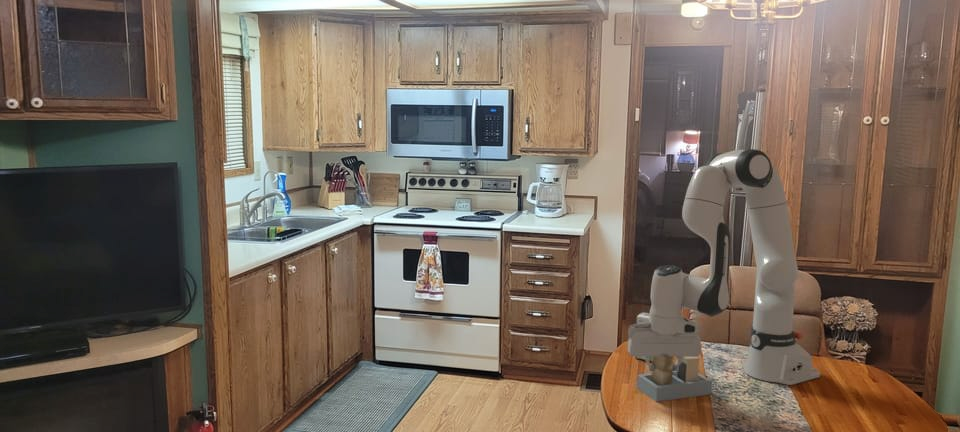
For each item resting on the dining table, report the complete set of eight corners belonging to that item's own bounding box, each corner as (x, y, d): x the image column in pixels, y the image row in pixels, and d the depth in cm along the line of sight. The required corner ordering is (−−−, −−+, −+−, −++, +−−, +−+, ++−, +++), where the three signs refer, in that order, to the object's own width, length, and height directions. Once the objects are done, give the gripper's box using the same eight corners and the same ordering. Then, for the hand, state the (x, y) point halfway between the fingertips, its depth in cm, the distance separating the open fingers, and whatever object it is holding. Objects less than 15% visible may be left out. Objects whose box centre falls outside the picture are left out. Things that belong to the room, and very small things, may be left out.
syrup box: (657, 357, 223) (659, 314, 221) (651, 362, 218) (653, 318, 216) (640, 353, 226) (642, 311, 224) (634, 358, 221) (636, 315, 219)
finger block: (662, 378, 197) (664, 348, 196) (672, 383, 194) (674, 352, 192) (651, 381, 195) (653, 351, 193) (662, 386, 191) (663, 355, 190)
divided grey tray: (689, 381, 203) (691, 349, 202) (710, 394, 194) (713, 360, 192) (636, 387, 198) (638, 355, 196) (656, 401, 188) (657, 367, 187)
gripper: (631, 327, 188) (629, 374, 190) (704, 327, 189) (701, 374, 191) (625, 320, 194) (623, 366, 196) (696, 320, 195) (693, 366, 197)
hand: (662, 370), depth 194 cm, fingers closed on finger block, 6 cm apart
